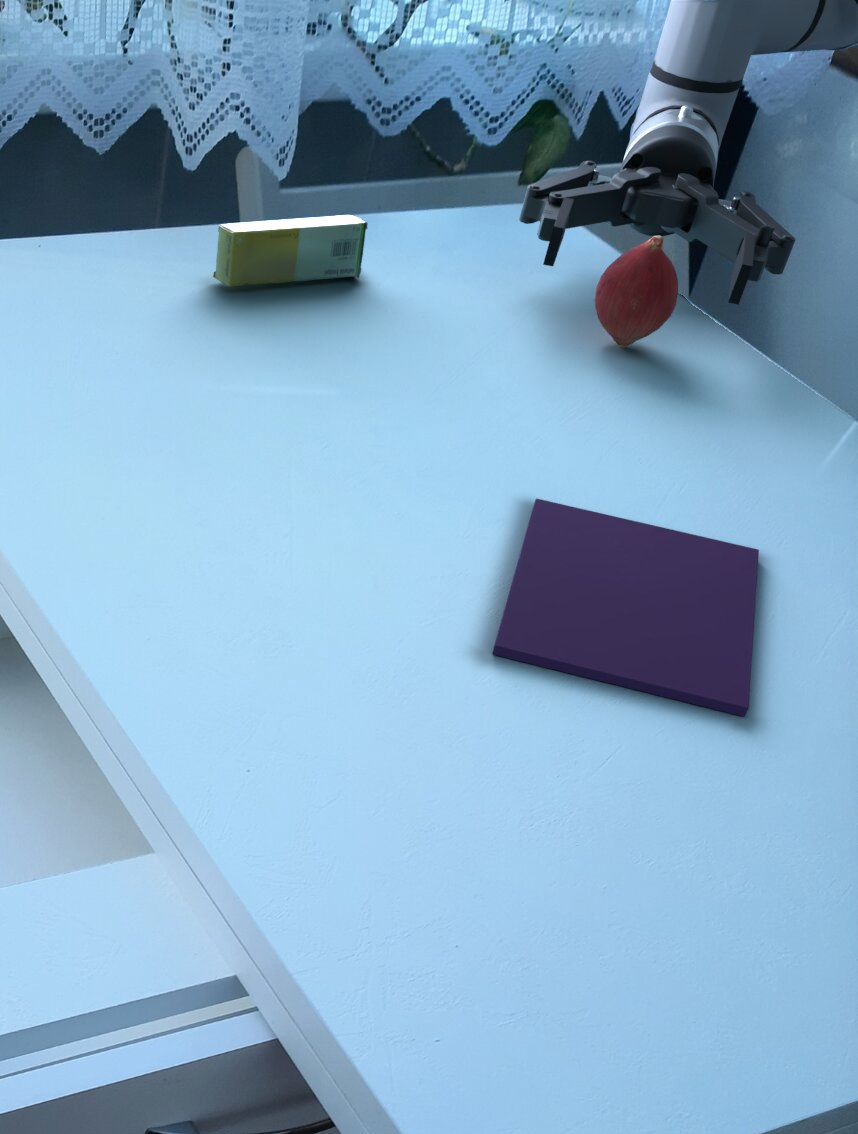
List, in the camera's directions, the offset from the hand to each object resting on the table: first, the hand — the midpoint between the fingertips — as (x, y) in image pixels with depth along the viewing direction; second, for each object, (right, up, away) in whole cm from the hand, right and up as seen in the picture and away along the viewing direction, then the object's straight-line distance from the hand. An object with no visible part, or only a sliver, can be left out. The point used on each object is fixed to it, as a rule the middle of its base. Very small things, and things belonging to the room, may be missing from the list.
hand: (645, 265), depth 111 cm
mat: (-8, -30, -21) cm, 37 cm away
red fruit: (0, -4, +5) cm, 6 cm away
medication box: (-25, +3, +8) cm, 27 cm away
